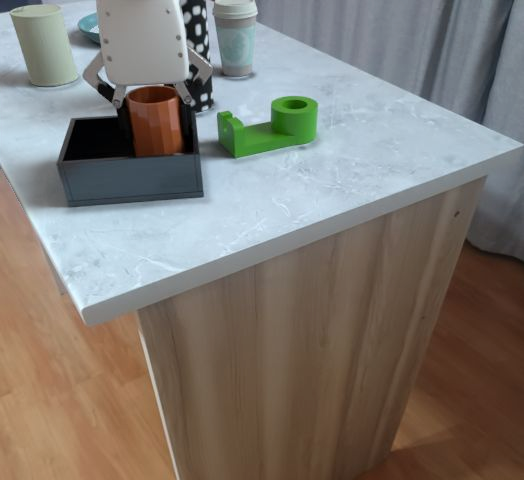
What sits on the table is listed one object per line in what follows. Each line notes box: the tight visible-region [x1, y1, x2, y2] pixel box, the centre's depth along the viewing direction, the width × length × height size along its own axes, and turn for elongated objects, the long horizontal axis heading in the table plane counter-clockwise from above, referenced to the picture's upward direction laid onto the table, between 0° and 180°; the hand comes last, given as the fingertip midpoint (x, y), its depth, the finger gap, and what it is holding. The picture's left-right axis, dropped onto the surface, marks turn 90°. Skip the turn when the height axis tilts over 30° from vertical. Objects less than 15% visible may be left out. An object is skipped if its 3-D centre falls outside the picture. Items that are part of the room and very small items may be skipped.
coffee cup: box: [211, 0, 259, 77], centre depth 99 cm, size 8×8×12 cm
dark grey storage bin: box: [55, 110, 205, 208], centre depth 70 cm, size 17×14×6 cm
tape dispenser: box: [216, 95, 319, 159], centre depth 79 cm, size 15×7×5 cm, turn 116°
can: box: [9, 3, 79, 88], centre depth 97 cm, size 9×9×12 cm
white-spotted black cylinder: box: [163, 0, 215, 113], centre depth 84 cm, size 8×8×20 cm
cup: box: [124, 84, 186, 156], centre depth 69 cm, size 7×7×9 cm
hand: (157, 132), depth 69 cm, fingers closed on cup, 6 cm apart
